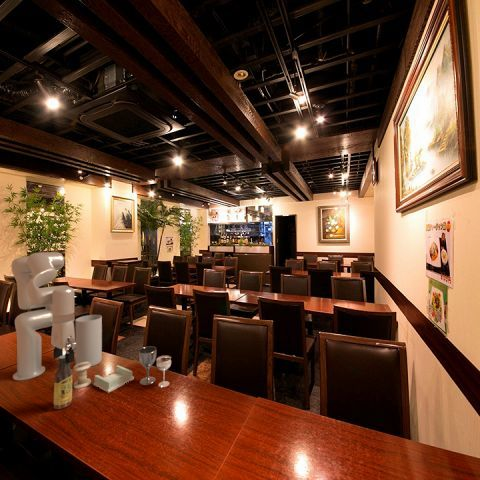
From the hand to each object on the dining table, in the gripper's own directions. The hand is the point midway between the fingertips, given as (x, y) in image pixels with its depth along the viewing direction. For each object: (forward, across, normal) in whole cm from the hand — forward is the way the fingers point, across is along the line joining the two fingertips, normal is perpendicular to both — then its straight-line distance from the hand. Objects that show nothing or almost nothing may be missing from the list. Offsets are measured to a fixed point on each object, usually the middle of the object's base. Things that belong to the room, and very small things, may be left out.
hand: (63, 359), depth 103 cm
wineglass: (+19, +23, +32) cm, 44 cm away
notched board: (+19, +1, +21) cm, 28 cm away
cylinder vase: (+18, -29, +25) cm, 42 cm away
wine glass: (+19, +14, +30) cm, 38 cm away
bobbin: (+18, -10, +12) cm, 24 cm away
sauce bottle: (+19, -1, 0) cm, 19 cm away
